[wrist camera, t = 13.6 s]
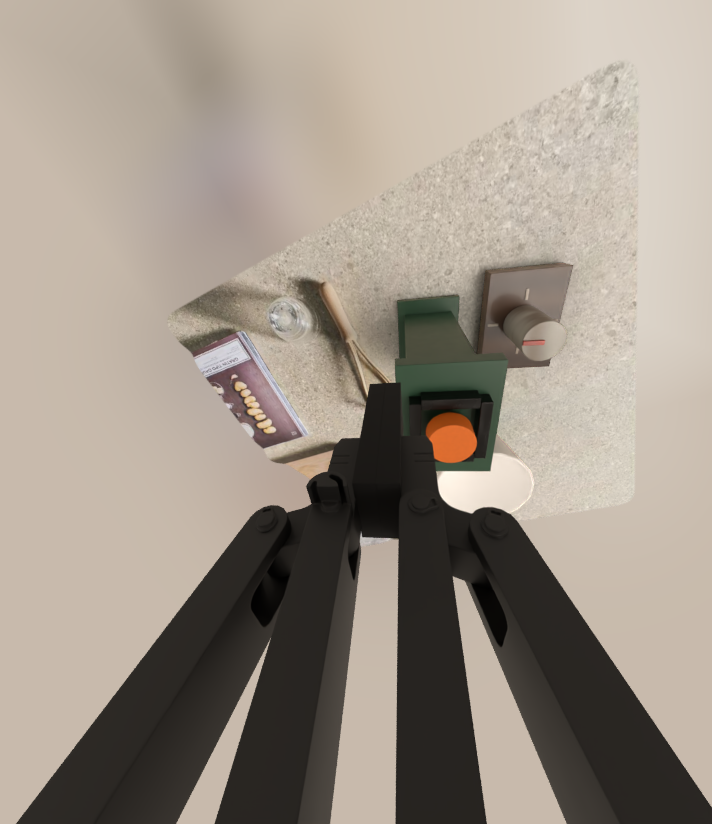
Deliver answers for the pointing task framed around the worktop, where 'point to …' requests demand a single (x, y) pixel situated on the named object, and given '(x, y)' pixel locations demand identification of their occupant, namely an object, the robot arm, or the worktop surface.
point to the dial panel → (519, 304)
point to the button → (451, 437)
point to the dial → (535, 333)
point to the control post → (447, 376)
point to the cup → (489, 483)
